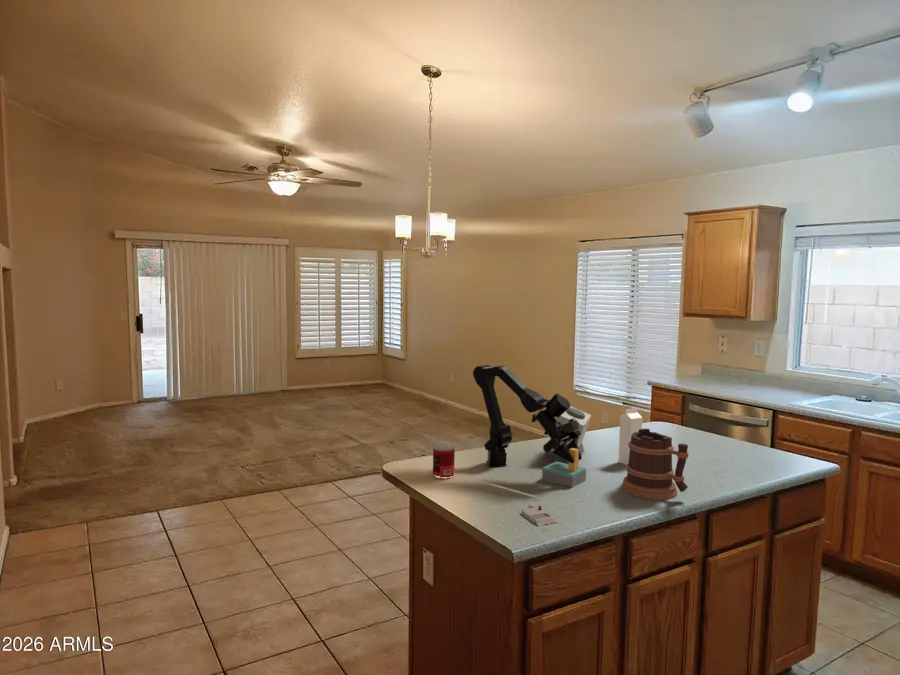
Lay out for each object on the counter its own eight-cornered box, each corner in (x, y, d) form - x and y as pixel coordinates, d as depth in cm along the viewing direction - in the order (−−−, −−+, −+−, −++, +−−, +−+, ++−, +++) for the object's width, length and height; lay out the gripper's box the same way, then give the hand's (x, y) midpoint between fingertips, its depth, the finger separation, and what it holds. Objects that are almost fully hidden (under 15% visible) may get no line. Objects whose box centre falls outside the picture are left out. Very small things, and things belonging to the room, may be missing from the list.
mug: (671, 508, 182) (674, 446, 180) (610, 488, 199) (612, 431, 198) (700, 495, 194) (703, 437, 192) (640, 477, 211) (642, 424, 209)
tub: (542, 481, 205) (542, 470, 205) (556, 474, 213) (556, 464, 212) (572, 489, 197) (572, 477, 197) (585, 482, 205) (586, 471, 205)
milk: (618, 462, 230) (620, 407, 228) (629, 460, 232) (631, 406, 230) (629, 466, 224) (631, 410, 222) (640, 464, 227) (642, 409, 225)
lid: (542, 473, 205) (543, 447, 204) (556, 466, 212) (557, 441, 212) (572, 480, 197) (573, 453, 196) (586, 473, 205) (587, 447, 204)
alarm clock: (552, 447, 249) (554, 401, 247) (590, 452, 243) (591, 405, 241) (542, 460, 230) (544, 411, 228) (582, 465, 224) (584, 414, 222)
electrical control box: (541, 530, 165) (541, 520, 164) (514, 510, 179) (514, 501, 179) (561, 527, 167) (561, 517, 167) (533, 508, 182) (533, 498, 181)
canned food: (457, 474, 211) (458, 445, 210) (448, 480, 204) (448, 450, 203) (438, 471, 215) (439, 442, 214) (429, 477, 207) (429, 447, 206)
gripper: (551, 416, 196) (580, 454, 190) (577, 407, 210) (604, 442, 204) (531, 434, 202) (558, 472, 196) (557, 425, 216) (583, 459, 210)
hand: (577, 461), depth 201 cm, fingers open, 5 cm apart
